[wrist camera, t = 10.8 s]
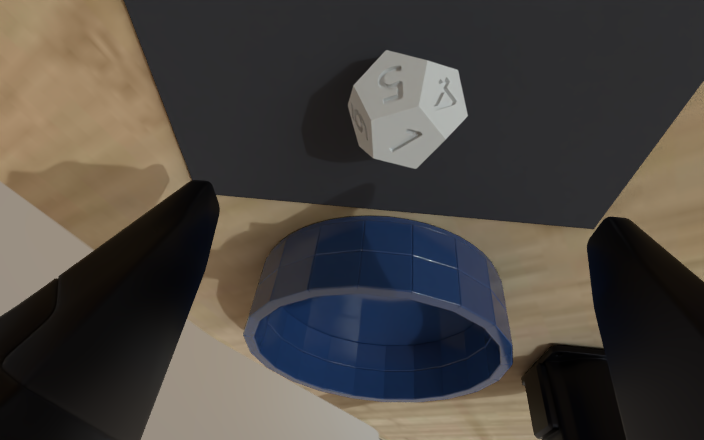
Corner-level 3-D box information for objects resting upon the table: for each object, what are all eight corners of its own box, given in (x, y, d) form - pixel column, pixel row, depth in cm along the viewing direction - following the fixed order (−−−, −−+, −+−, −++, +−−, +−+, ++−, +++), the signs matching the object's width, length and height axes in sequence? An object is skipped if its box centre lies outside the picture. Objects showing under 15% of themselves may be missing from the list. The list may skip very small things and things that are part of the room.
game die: (330, 78, 13) (315, 131, 11) (423, 4, 11) (425, 53, 9) (392, 146, 15) (389, 201, 13) (482, 92, 13) (494, 148, 11)
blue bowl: (540, 230, 18) (561, 307, 16) (467, 353, 29) (472, 412, 26) (243, 203, 19) (216, 272, 16) (278, 333, 30) (264, 388, 27)
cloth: (880, -172, 8) (891, -171, 8) (591, 224, 18) (593, 229, 17) (53, -203, 9) (45, -202, 9) (199, 188, 19) (197, 193, 18)
